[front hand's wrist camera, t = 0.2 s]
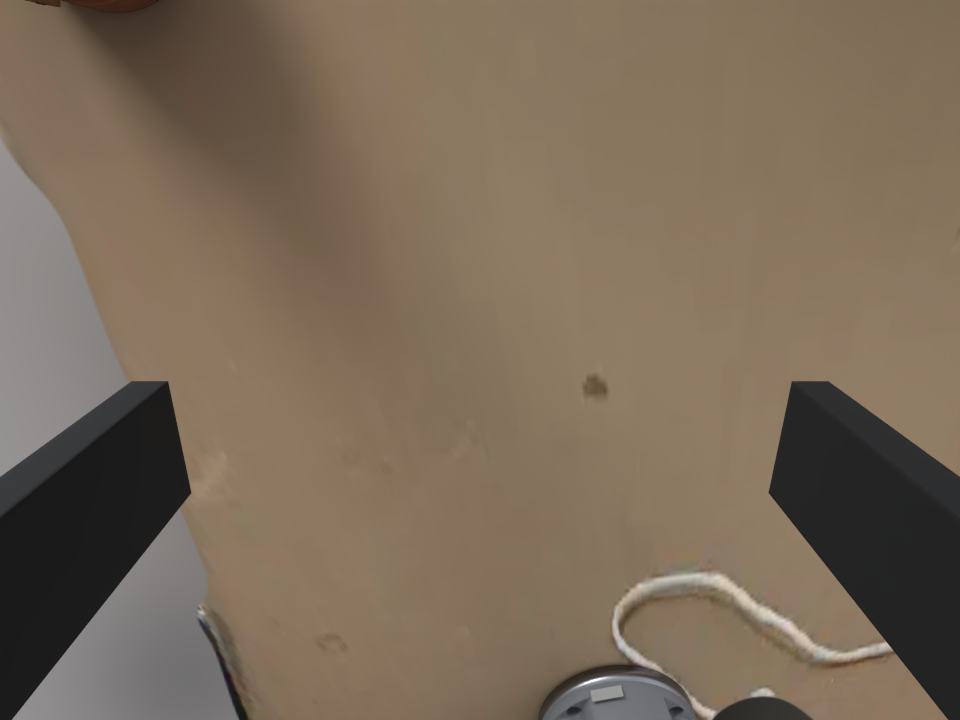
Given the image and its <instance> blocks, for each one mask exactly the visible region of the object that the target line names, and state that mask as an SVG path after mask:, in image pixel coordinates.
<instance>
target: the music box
mask: <svg viewBox="0 0 960 720" xmlns="http://www.w3.org/2000/svg"><path fill="white" fill-rule="evenodd" d="M26 1H30V2H35V3H37V4H41V5H50V6H56V7H61V5H60V0H26ZM63 1H67V2H70V3H74V4H77V5H81V6H84V7H88V8H91V9H95V10H99V11H104V12H111V13H125V12H132V11H136V10H140V9H143V8H145V7H147V6H149V5H151V4H153V3H155V2H156V1H158V0H63Z"/></svg>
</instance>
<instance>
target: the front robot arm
mask: <svg viewBox="0 0 960 720" xmlns="http://www.w3.org/2000/svg"><path fill="white" fill-rule="evenodd" d="M190 494H191V489H190V484H189V480H188V475H187V470H186V465H185V460H184V456H183V451H182V446H181V441H180V436H179V432H178V427H177V422H176V417H175V413H174V408H173V403H172V398H171V393H170V389H169V384H168V381H132V382H130V383H129V384H127V385H126V386H125V387H123V388H122V389H121V390H119V391H118V392H116V393H115V394H114V395H112V396H111V397H110V398H108V399H107V400H105V401H104V402H103V403H101V404H100V405H99V406H97V407H96V408H95V409H93V410H92V411H90V412H89V413H88V414H86V415H85V416H83V417H82V418H81V419H79V420H78V421H77V422H75V423H74V424H72V425H71V426H70V427H68V428H67V429H66V430H64V431H63V432H61V433H60V434H59V435H57V436H56V437H55V438H53V439H52V440H50V441H49V442H48V443H46V444H45V445H44V446H42V447H41V448H39V449H38V450H37V451H35V452H34V453H33V454H31V455H30V456H28V457H27V458H26V459H24V460H23V461H22V462H20V463H19V464H17V465H16V466H15V467H13V468H12V469H11V470H9V471H8V472H6V473H5V474H4V475H2V476H1V477H0V720H12V719H13V717H14V716H15V715H16V714H17V712H18V711H19V710H20V709H21V707H22V706H23V705H24V704H25V702H26V701H27V700H28V699H29V697H30V696H31V695H32V693H33V692H34V691H35V690H36V688H37V687H38V686H39V685H40V683H41V682H42V681H43V679H44V678H45V677H46V676H47V674H48V673H49V672H50V671H51V669H52V668H53V667H54V666H55V664H56V663H57V662H58V661H59V659H60V658H61V657H62V656H63V654H64V653H65V652H66V650H67V649H68V648H69V647H70V645H71V644H72V643H73V642H74V640H75V639H76V638H77V637H78V635H79V634H80V633H81V632H82V630H83V629H84V628H85V626H86V625H87V624H88V623H89V621H90V620H91V619H92V618H93V616H94V615H95V614H96V613H97V611H98V610H99V609H100V608H101V606H102V605H103V604H104V602H105V601H106V600H107V599H108V597H109V596H110V595H111V594H112V592H113V591H114V590H115V589H116V587H117V586H118V585H119V584H120V582H121V581H122V580H123V578H124V577H125V576H126V575H127V573H128V572H129V571H130V570H131V568H132V567H133V566H134V565H135V563H136V562H137V561H138V559H139V558H140V557H141V556H142V554H143V553H144V552H145V551H146V549H147V548H148V547H149V546H150V544H151V543H152V542H153V541H154V539H155V538H156V537H157V535H158V534H159V533H160V532H161V530H162V529H163V528H164V527H165V525H166V524H167V523H168V522H169V520H170V519H171V518H172V517H173V515H174V514H175V513H176V512H177V510H178V509H179V508H180V506H181V505H182V504H183V503H184V501H185V500H186V499H187V498H188V496H189V495H190ZM769 494H770V495H771V496H772V498H773V499H774V500H775V501H776V503H777V504H778V505H779V506H780V508H781V509H782V510H783V512H784V513H785V514H786V515H787V517H788V518H789V519H790V520H791V522H792V523H793V524H794V525H795V527H796V528H797V529H798V530H799V532H800V533H801V534H802V536H803V537H804V538H805V539H806V541H807V542H808V543H809V544H810V546H811V547H812V548H813V549H814V551H815V552H816V553H817V554H818V556H819V557H820V558H821V560H822V561H823V562H824V563H825V565H826V566H827V567H828V568H829V570H830V571H831V572H832V573H833V575H834V576H835V577H836V578H837V580H838V581H839V582H840V584H841V585H842V586H843V587H844V589H845V590H846V591H847V592H848V594H849V595H850V596H851V597H852V599H853V600H854V601H855V602H856V604H857V605H858V606H859V608H860V609H861V610H862V611H863V613H864V614H865V615H866V616H867V618H868V619H869V620H870V621H871V623H872V624H873V625H874V626H875V628H876V629H877V630H878V632H879V633H880V634H881V635H882V637H883V638H884V639H885V640H886V642H887V643H888V644H889V645H890V647H891V648H892V649H893V651H894V652H895V653H896V654H897V656H898V657H899V658H900V659H901V661H902V662H903V663H904V664H905V666H906V667H907V668H908V669H909V671H910V672H911V673H912V675H913V676H914V677H915V678H916V680H917V681H918V682H919V683H920V685H921V686H922V687H923V688H924V690H925V691H926V692H927V693H928V695H929V696H930V697H931V699H932V700H933V701H934V702H935V704H936V705H937V706H938V707H939V709H940V710H941V711H942V712H943V714H944V715H945V716H946V717H947V719H948V720H960V477H959V476H958V475H956V474H955V473H954V472H952V471H951V470H949V469H948V468H947V467H945V466H944V465H943V464H941V463H940V462H938V461H937V460H936V459H934V458H933V457H932V456H930V455H929V454H927V453H926V452H925V451H923V450H922V449H921V448H919V447H918V446H916V445H915V444H914V443H912V442H911V441H910V440H908V439H907V438H905V437H904V436H903V435H901V434H900V433H899V432H897V431H896V430H894V429H893V428H892V427H890V426H889V425H888V424H886V423H885V422H883V421H882V420H881V419H879V418H878V417H877V416H875V415H874V414H872V413H871V412H870V411H868V410H867V409H866V408H864V407H863V406H861V405H860V404H859V403H857V402H856V401H855V400H853V399H852V398H850V397H849V396H848V395H846V394H845V393H844V392H842V391H841V390H839V389H838V388H837V387H835V386H834V385H833V384H831V383H830V382H828V381H792V384H791V389H790V393H789V398H788V403H787V408H786V413H785V417H784V422H783V427H782V432H781V436H780V441H779V446H778V451H777V456H776V460H775V465H774V470H773V475H772V480H771V484H770V489H769ZM538 720H697V719H696V716H695V713H694V710H693V707H692V705H691V702H690V699H689V697H688V696H687V694H686V692H685V691H684V690H683V689H682V688H681V686H679V685H678V684H677V683H676V682H675V681H673V680H672V679H671V678H669V677H667V676H666V675H663V674H661V673H659V672H656V671H654V670H650V669H647V668H642V667H636V666H607V667H601V668H596V669H592V670H589V671H586V672H583V673H581V674H578V675H576V676H574V677H572V678H570V679H568V680H567V681H565V682H563V683H562V684H561V685H559V686H558V687H557V688H556V689H555V690H554V691H553V692H552V693H551V694H550V695H549V696H548V697H547V699H546V700H545V702H544V703H543V705H542V707H541V710H540V713H539V716H538Z"/></svg>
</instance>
